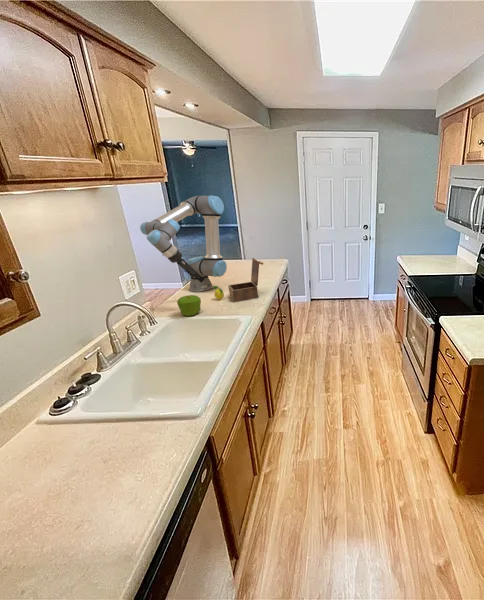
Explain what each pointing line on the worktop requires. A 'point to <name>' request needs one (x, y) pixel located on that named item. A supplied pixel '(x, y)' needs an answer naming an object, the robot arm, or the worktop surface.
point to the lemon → (218, 293)
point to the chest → (243, 291)
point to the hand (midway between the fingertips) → (198, 278)
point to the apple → (189, 305)
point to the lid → (255, 271)
